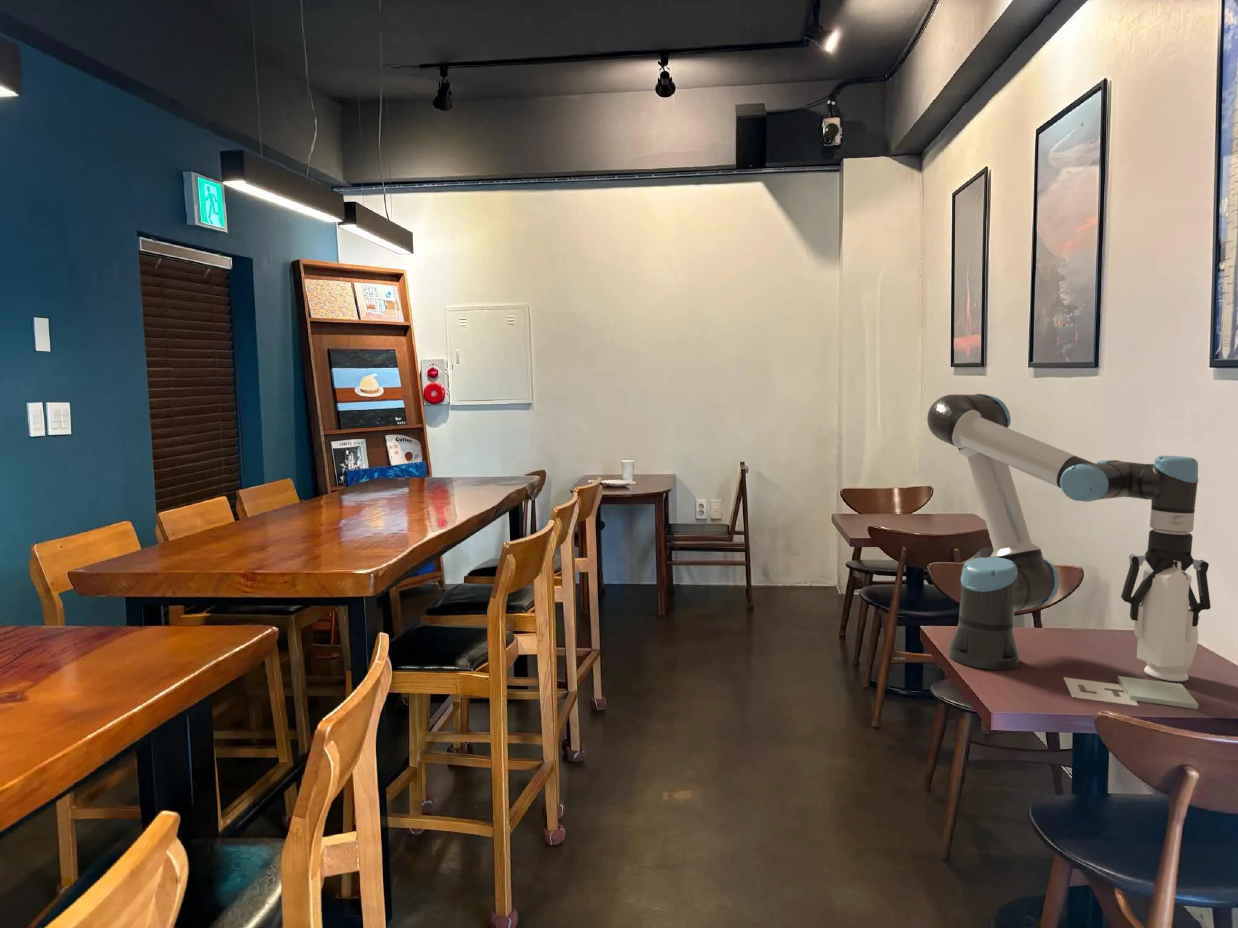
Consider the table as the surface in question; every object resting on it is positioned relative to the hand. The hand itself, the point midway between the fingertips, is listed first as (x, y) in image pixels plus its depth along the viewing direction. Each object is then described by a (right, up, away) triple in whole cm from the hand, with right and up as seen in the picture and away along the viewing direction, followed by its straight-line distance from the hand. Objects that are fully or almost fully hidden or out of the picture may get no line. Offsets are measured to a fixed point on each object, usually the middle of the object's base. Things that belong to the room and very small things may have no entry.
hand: (1161, 637), depth 173 cm
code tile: (-12, -12, +2) cm, 17 cm away
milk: (0, -5, +1) cm, 5 cm away
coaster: (0, -12, +1) cm, 12 cm away
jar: (+9, -11, +13) cm, 19 cm away
